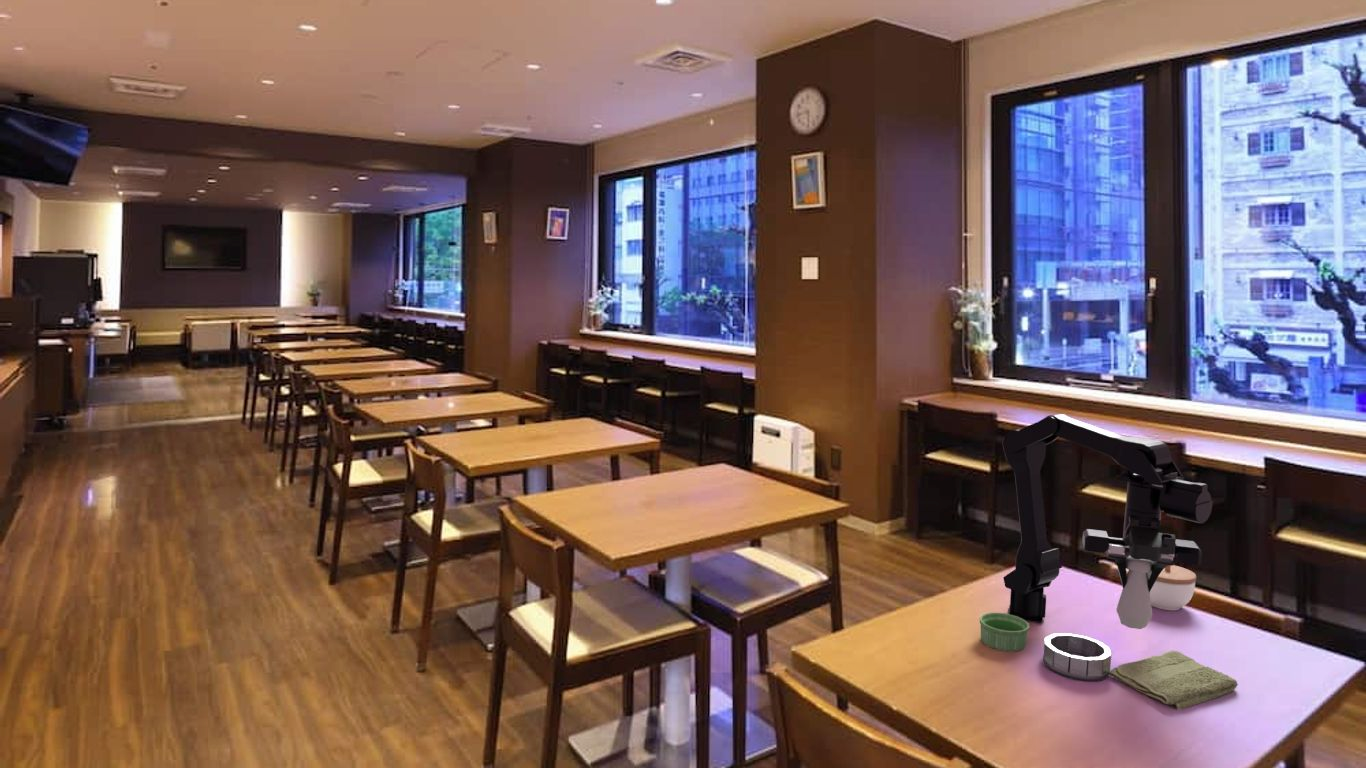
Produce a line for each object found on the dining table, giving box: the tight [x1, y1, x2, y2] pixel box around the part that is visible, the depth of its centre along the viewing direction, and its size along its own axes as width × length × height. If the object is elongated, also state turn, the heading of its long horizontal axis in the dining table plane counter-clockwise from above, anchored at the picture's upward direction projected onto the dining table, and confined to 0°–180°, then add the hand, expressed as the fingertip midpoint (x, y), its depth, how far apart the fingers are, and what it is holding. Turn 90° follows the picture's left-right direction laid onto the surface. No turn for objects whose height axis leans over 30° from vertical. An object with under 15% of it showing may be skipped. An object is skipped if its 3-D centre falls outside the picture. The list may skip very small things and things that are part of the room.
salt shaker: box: [1116, 555, 1153, 630], centre depth 151 cm, size 6×6×13 cm
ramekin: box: [979, 612, 1030, 652], centre depth 158 cm, size 9×9×4 cm
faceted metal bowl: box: [1042, 632, 1112, 683], centre depth 148 cm, size 11×11×4 cm
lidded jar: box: [1147, 564, 1197, 612], centre depth 177 cm, size 11×11×9 cm
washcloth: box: [1109, 650, 1239, 710], centre depth 142 cm, size 13×18×3 cm
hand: (1135, 590), depth 151 cm, fingers closed on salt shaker, 3 cm apart
